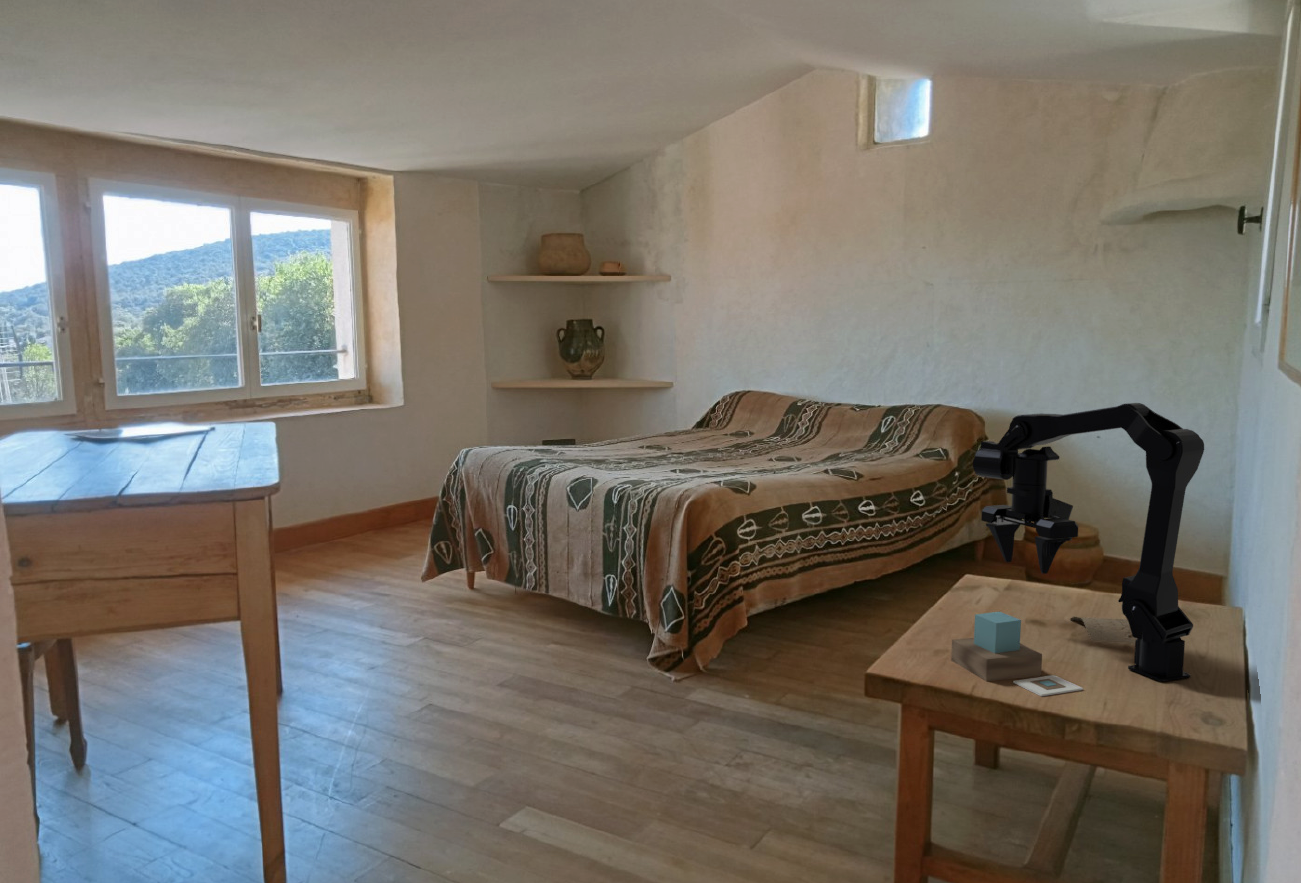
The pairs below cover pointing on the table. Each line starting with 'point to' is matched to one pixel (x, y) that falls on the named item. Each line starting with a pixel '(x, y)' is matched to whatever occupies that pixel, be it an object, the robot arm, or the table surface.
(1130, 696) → the table surface
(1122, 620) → the clay tablet
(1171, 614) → the robot arm
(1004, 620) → the teal cube
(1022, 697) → the table surface
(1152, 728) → the table surface
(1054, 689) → the card
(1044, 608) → the table surface
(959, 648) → the walnut block
